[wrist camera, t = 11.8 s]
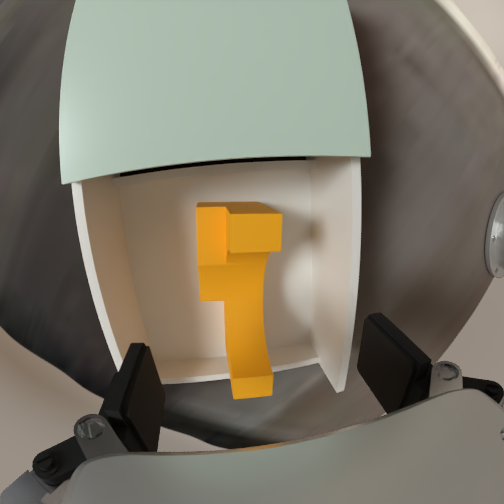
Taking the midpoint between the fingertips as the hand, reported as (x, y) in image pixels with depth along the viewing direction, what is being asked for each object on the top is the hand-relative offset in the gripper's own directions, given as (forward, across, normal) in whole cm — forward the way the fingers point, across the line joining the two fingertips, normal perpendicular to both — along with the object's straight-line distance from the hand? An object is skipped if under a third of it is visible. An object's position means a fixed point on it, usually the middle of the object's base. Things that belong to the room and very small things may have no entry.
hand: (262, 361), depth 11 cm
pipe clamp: (+11, +1, 0) cm, 11 cm away
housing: (+11, +1, -8) cm, 14 cm away
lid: (+4, +1, -16) cm, 17 cm away
